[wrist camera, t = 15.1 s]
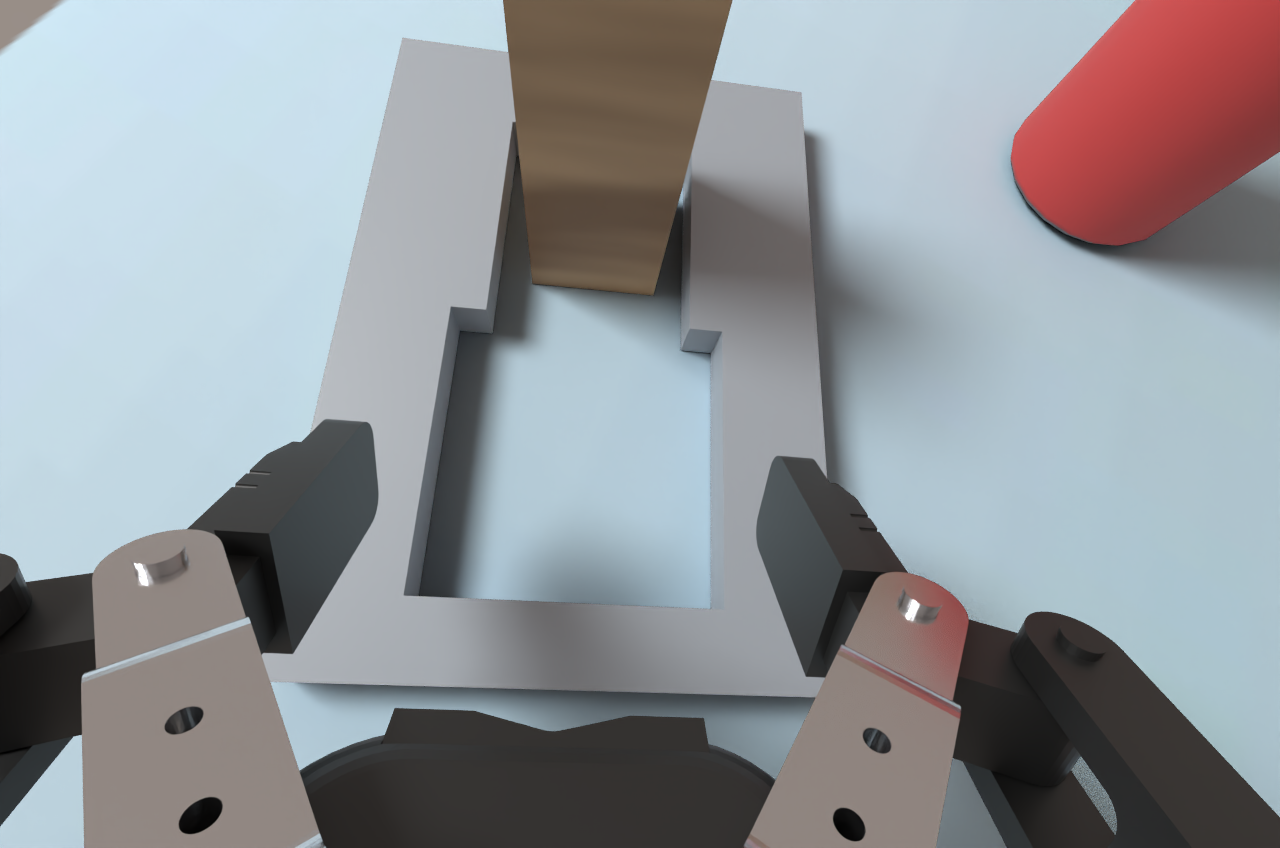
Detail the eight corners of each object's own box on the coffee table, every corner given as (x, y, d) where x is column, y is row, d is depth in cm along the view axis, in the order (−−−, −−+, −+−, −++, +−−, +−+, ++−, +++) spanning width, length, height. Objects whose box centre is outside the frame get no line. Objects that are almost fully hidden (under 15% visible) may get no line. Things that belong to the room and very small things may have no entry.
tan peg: (653, 295, 19) (734, -10, 10) (532, 283, 19) (498, -47, 10) (656, 197, 21) (732, -156, 11) (543, 184, 20) (523, -193, 11)
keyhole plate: (817, 691, 16) (841, 698, 15) (282, 675, 15) (251, 681, 13) (786, 125, 22) (801, 92, 21) (413, 76, 21) (402, 37, 20)
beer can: (1104, 285, 22) (1682, -72, 11) (969, 172, 23) (1365, -265, 12) (1181, 196, 24) (1737, -186, 12) (1054, 95, 25) (1462, -342, 13)
